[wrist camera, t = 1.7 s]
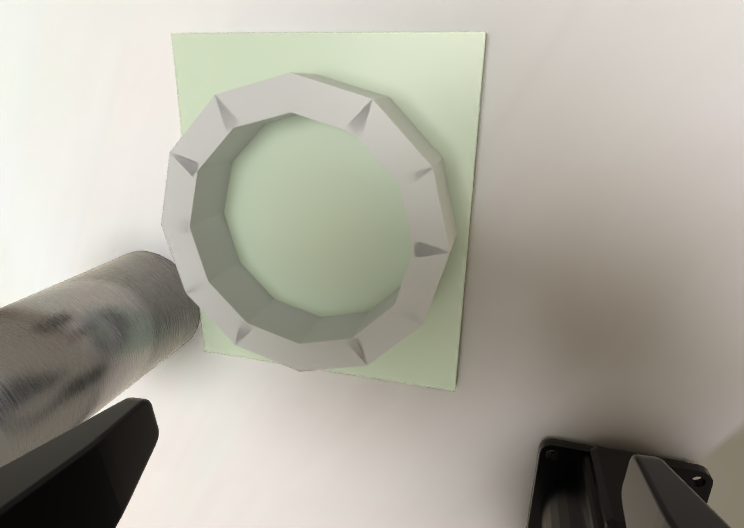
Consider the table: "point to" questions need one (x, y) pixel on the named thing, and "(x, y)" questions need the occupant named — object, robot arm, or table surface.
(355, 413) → the table surface
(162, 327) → the metal bottle
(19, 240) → the table surface
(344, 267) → the ring plate
